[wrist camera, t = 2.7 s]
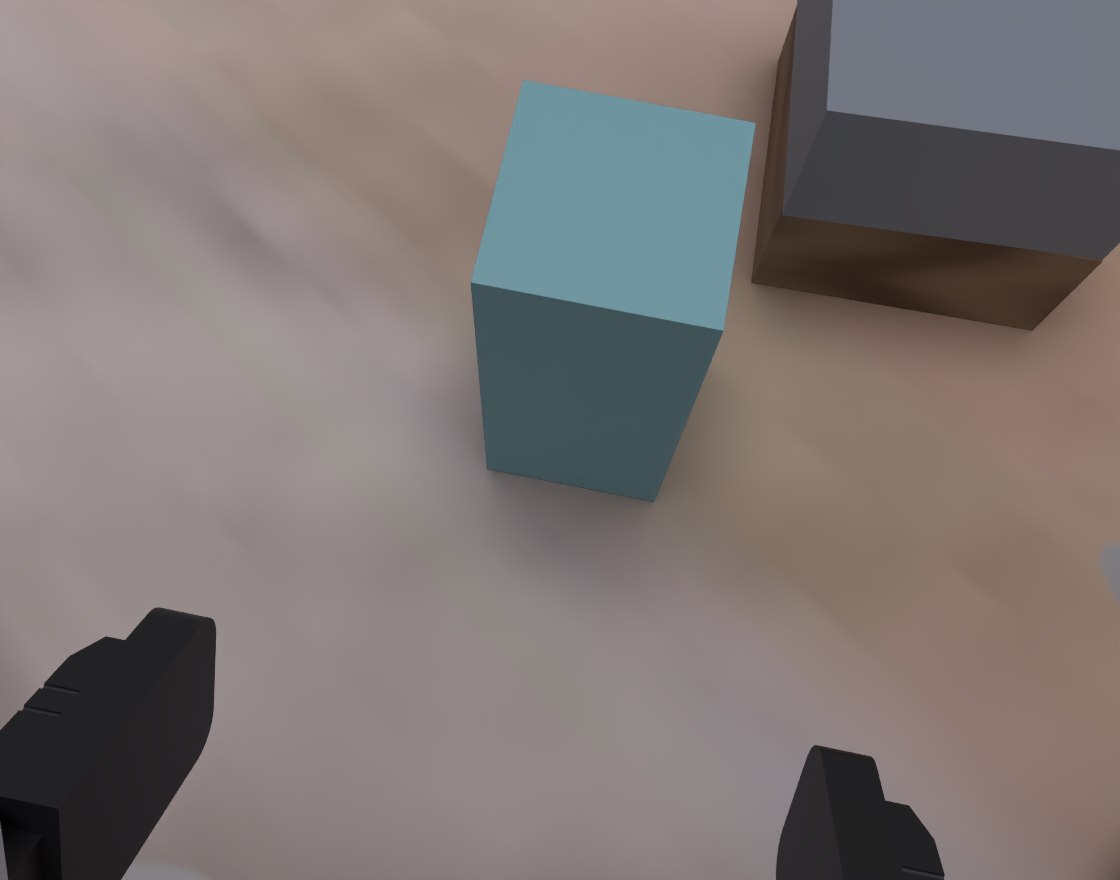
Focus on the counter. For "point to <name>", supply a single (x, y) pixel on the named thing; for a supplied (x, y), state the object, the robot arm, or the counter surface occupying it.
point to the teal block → (603, 284)
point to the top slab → (959, 120)
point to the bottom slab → (899, 253)
